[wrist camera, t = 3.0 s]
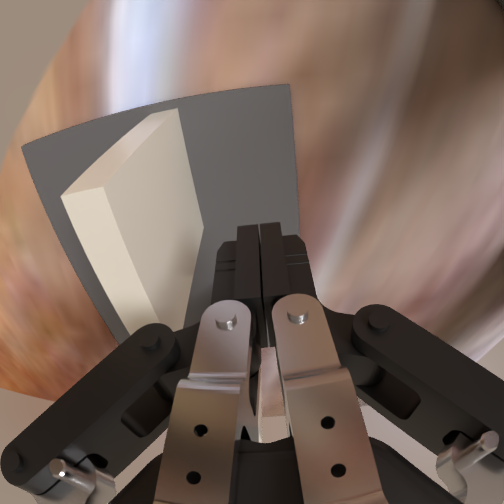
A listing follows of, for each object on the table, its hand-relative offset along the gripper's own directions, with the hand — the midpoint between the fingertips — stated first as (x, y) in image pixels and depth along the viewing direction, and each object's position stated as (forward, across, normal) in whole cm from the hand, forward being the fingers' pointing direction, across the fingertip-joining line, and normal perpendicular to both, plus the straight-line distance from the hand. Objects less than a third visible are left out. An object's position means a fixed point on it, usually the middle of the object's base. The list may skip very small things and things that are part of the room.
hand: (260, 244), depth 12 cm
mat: (+9, +7, +7) cm, 13 cm away
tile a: (+8, +5, 0) cm, 9 cm away
